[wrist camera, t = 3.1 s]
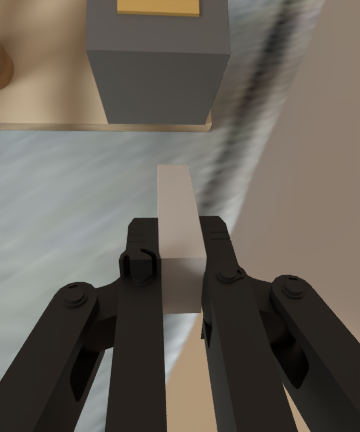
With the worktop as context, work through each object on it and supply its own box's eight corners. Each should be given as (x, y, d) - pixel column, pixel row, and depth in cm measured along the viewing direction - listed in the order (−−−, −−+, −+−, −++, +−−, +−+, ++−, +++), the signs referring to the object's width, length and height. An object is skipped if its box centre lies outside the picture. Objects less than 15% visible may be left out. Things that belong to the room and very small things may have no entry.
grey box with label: (108, 123, 23) (84, 46, 15) (108, 48, 24) (87, -62, 16) (205, 124, 24) (231, 51, 16) (201, 50, 25) (225, -54, 17)
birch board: (-37, 129, 24) (-48, 121, 22) (-19, -90, 27) (-27, -108, 25) (208, 131, 25) (211, 124, 24) (199, -76, 28) (202, -93, 27)
